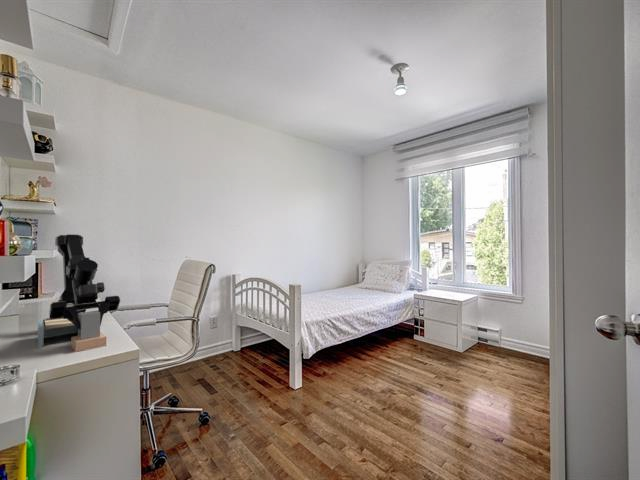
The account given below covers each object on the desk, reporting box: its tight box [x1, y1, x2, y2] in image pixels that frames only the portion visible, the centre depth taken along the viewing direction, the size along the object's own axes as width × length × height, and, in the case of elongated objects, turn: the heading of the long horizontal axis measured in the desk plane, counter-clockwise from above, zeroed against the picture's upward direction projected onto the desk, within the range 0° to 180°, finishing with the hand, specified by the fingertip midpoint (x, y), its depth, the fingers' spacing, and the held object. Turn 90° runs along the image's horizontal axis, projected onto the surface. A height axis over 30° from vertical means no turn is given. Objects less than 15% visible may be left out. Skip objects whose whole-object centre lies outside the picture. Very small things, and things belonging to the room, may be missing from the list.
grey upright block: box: [77, 310, 101, 340], centre depth 99 cm, size 5×5×8 cm
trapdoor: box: [44, 317, 74, 329], centre depth 107 cm, size 12×12×2 cm
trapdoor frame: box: [37, 318, 78, 349], centre depth 107 cm, size 15×15×6 cm
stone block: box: [70, 331, 107, 353], centre depth 99 cm, size 8×8×3 cm
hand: (90, 326), depth 98 cm, fingers closed on grey upright block, 5 cm apart
